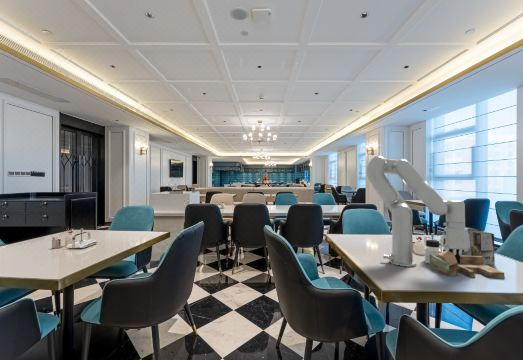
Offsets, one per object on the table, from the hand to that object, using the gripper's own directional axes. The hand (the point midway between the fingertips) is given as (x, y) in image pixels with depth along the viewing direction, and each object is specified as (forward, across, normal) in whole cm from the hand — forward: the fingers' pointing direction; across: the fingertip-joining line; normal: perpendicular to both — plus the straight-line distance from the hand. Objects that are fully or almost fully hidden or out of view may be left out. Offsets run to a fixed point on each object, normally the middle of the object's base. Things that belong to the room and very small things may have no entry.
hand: (456, 262), depth 125 cm
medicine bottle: (+4, -5, +12) cm, 13 cm away
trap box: (+4, +2, -3) cm, 5 cm away
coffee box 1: (+4, +23, +30) cm, 38 cm away
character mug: (+4, +7, +19) cm, 20 cm away
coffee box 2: (+4, +22, +16) cm, 27 cm away
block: (0, -4, -1) cm, 4 cm away
